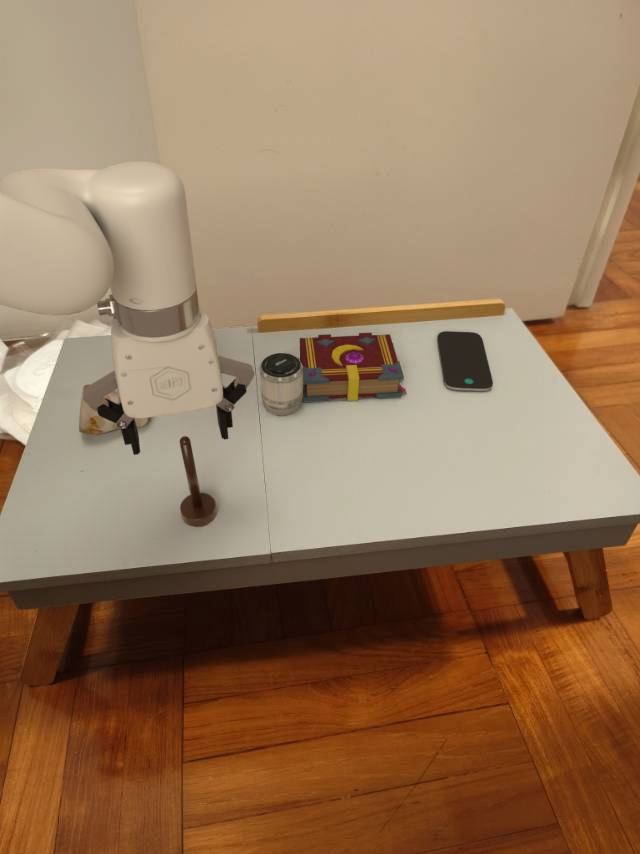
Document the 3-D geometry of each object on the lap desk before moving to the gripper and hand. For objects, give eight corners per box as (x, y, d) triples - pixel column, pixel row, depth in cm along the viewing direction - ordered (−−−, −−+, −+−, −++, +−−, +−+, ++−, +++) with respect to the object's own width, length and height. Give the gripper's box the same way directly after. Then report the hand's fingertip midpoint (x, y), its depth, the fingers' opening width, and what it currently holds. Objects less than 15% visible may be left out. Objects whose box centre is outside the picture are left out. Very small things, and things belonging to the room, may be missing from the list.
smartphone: (445, 386, 95) (436, 330, 106) (444, 390, 96) (435, 334, 106) (495, 388, 95) (481, 331, 106) (493, 392, 95) (480, 336, 106)
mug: (158, 437, 88) (110, 405, 80) (104, 457, 91) (52, 427, 83) (160, 395, 92) (114, 359, 84) (108, 414, 95) (59, 382, 87)
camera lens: (311, 403, 93) (311, 362, 88) (280, 423, 90) (278, 381, 85) (284, 384, 96) (283, 343, 91) (253, 402, 93) (250, 361, 88)
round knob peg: (186, 531, 76) (168, 456, 66) (178, 505, 79) (160, 429, 69) (220, 521, 77) (208, 445, 68) (211, 495, 80) (198, 420, 71)
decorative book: (298, 358, 101) (298, 333, 98) (395, 354, 102) (398, 329, 99) (303, 404, 93) (303, 378, 90) (408, 398, 94) (412, 373, 91)
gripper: (58, 341, 52) (100, 476, 64) (257, 316, 56) (263, 448, 68) (60, 296, 58) (99, 429, 69) (242, 276, 61) (250, 404, 73)
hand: (180, 438), depth 69 cm, fingers open, 9 cm apart
